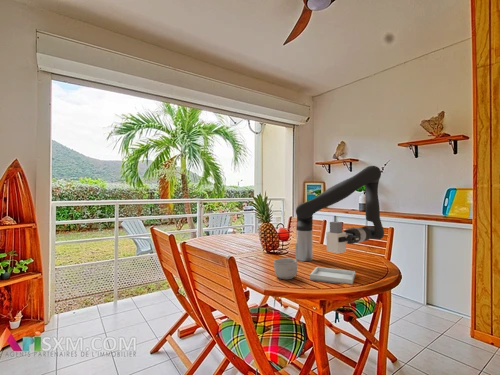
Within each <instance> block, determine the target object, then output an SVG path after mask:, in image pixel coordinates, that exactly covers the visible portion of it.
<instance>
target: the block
mask: <svg viewBox="0 0 500 375" xmlns="http://www.w3.org/2000/svg"><path fill="white" fill-rule="evenodd" d="M329 232H330V233H342V232H343V222H342V221H330V222H329Z"/></svg>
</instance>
